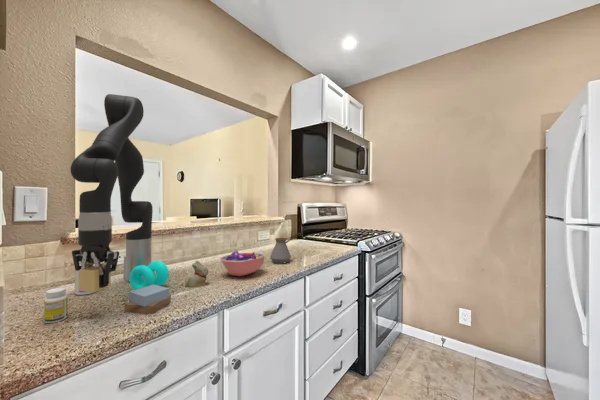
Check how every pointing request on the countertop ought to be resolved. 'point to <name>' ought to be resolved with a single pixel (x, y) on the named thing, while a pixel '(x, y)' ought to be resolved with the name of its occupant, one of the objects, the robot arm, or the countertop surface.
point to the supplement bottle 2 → (78, 283)
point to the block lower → (146, 307)
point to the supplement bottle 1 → (55, 305)
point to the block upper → (148, 295)
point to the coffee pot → (281, 250)
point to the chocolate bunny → (197, 275)
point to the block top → (90, 279)
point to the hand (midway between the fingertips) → (95, 285)
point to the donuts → (149, 275)
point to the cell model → (242, 263)
